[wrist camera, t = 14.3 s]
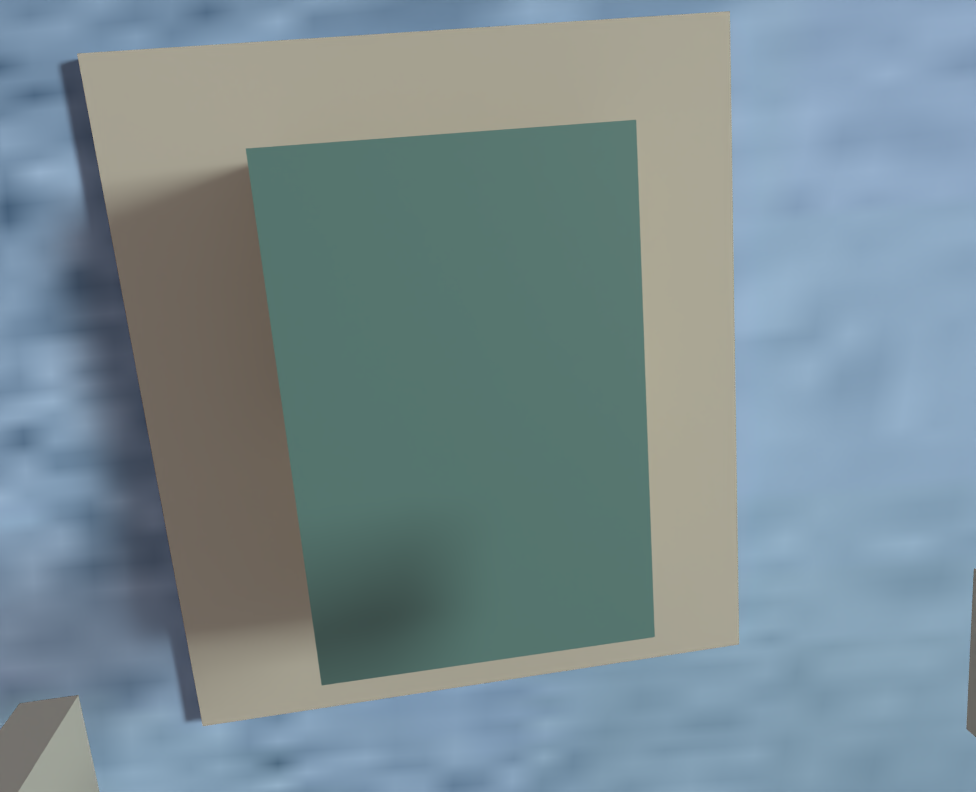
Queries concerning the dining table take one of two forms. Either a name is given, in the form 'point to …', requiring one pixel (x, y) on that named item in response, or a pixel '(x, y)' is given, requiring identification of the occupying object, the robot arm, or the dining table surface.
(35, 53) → the dining table surface
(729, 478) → the mat
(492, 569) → the green and tan block
